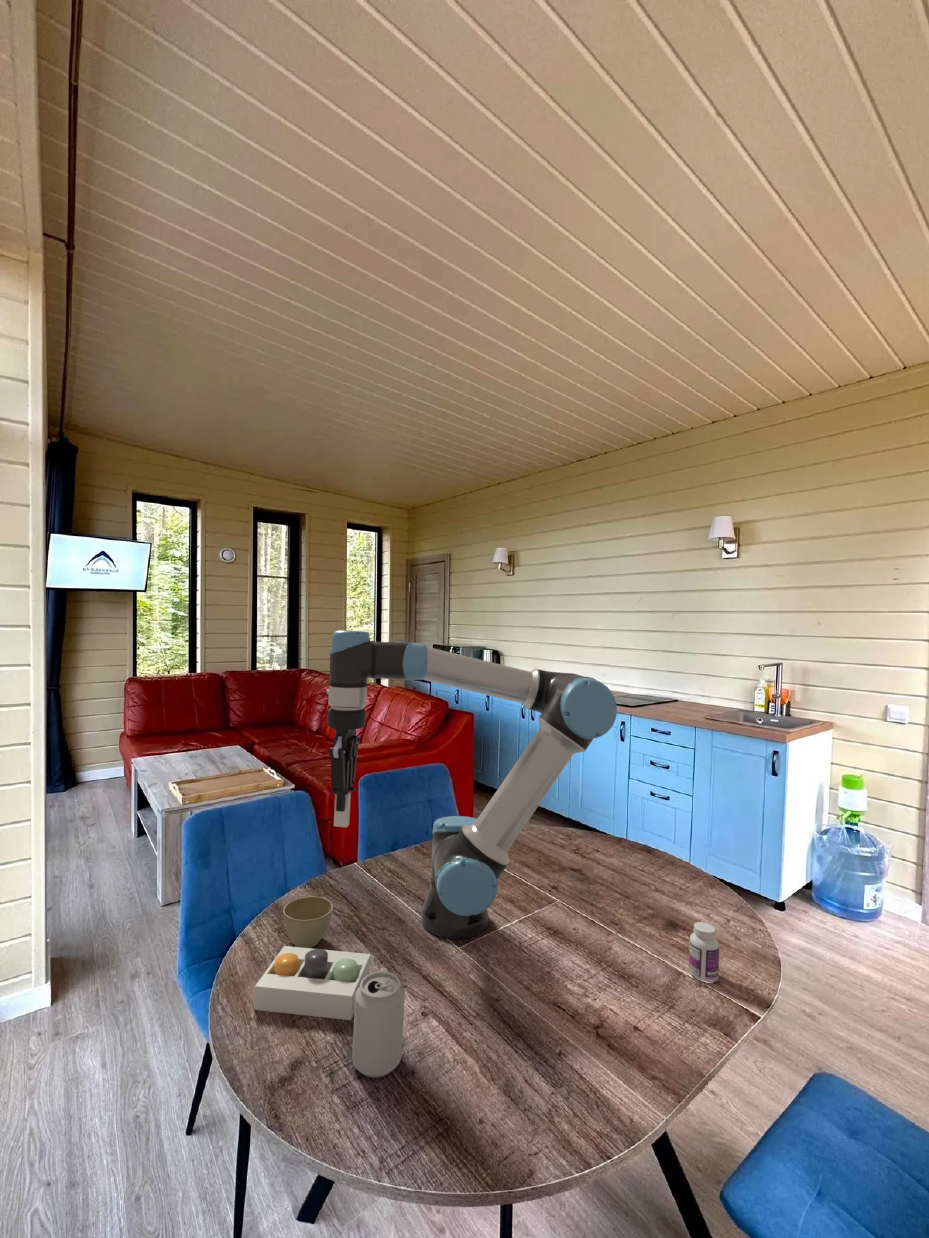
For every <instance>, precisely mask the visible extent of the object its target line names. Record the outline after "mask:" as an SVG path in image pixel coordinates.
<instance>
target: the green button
mask: <svg viewBox="0 0 929 1238" xmlns="http://www.w3.org/2000/svg"><path fill="white" fill-rule="evenodd" d="M356 978H357V963H356V961H354V960H352V959H342V960H339V961H338V962H336V964H335V966H334V981H344V982H354V983H355V982H356Z"/></svg>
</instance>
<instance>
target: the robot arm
mask: <svg viewBox="0 0 929 1238" xmlns="http://www.w3.org/2000/svg"><path fill="white" fill-rule="evenodd" d="M330 644H331V645H330V646H331V647H330V652H329V679H328V681H329V683H328V686H329V687H328V689H327V690H326V692H325V693H326V694H327V695H328V703H327V704H328V706H330V707H329V708H328V709H327V719H326V725H327V727H328V728H330V729H334V731H335V734H334V737H333V740H332V746H333V747H329V751H328V754H329V759H330V783H331V791H330V795H334V814H333V827H337V828H338V827H340V828H348V827H349V825H350V819H351V818H350V816H351V815H350V814H351V813H350V812H351V798H352V797H351V793H352V792H355V791H356V787H354V785H355V783H356V781H355V778H356V771H357V770H356V768H357V762H358V760H357V759H358V752H359V746H360V741H361V736H358V735H357V730H359V729H363V728H364V727H365V726H366V717H367V710H366V709H365V708H364V707H366V706H367V703H368V702H367V701H368V698H367V695H368V679H373V680H374V679H385V680H404V681H405V680H406V681H407V682H408V681H413V680H414V681H417V680H418V681H423V680H424V681H427V682H431V683H436V684H440V685H442V686H443V685H444V686H447V687H452V688H457V689H461V690H463V691H468V692H474V693H477V694H482V695H486V696H490V697H493V698H497V699H498V698H499V699H502V700H507V701H510V702H514V703H518V704H519V703H520V704H522V705H523V706H524V707H525V710H529V711H534V712H537V713H540V715H539V716H538V718H537V721H538V726H539V729H538V731H537V732H536V733H535V735H534V736H533V738H532V739H531V741H530V742H529V743H528V745H527V746H526V748H525V750H524V751H523V752H522V754H521V755H520V756H519V758H518V760H517V761H516V762H515V763H514V765H513V767H512V768H511V770H510V771H509V772H508V773H507V775H506V777H505V778H504V780H503V781H502V783H501V784H500V786H499V787H498V789H497V790H496V791H495V793H493V796H492V797H491V799H490V800H488V801H489V802H488V803H487V805H486V806H485V808H484V809H483V810H482V812H481V813H480V815H478V817H477V818H476V817H471V816H462V815H451V816H442V817H439V818H437V819H436V820H435V821H434V823H433V827H432V831H431V834H432V844H431V845H432V846H431V847H432V848H431V870H430V886H429V889H428V891H427V894H426V896H425V900H424V902H423V905H422V907H421V918H420V919H421V924H422V926H423V928H424V929H426V931H427V932H429V933H431V934H432V935H434V936H437V937H439V938H445V939H454V940H458V939H459V940H460V939H462V940H463V939H469V938H472V937H476V936H478V935H479V934H481V933H482V932H484V931H485V930H486V928H487V926H488V920H489V919H488V918H489V917H488V916H489V914H488V909H489V907H491V905H492V904H493V903H494V902H495V899H496V896H497V893H498V889H499V888H498V885H499V883H498V880H499V879H500V877H501V876H502V874H503V872H504V871H505V870H506V868H507V867H508V865H509V862H510V861H509V860H510V859H509V852H508V851H509V850H510V848H511V847H512V846H513V844H514V842H515V841H516V839H517V838H518V836H519V835H520V834H521V833H522V831H523V829H524V828H525V826H526V825H527V823H528V822H529V820H530V819H531V817H532V816H533V814H534V813H535V812H536V811H537V808H538V807H539V806H540V804H541V803H542V801H543V800H544V798H546V795H547V794H548V792H550V789H551V788H552V787H553V785H554V783H555V782H556V781H557V779H558V778H559V776H560V775H561V774H562V772H563V770H564V769H565V768H566V766H567V764H569V761H570V760H571V759H572V757H573V756H574V755H575V754H579V753H584V752H586V750H587V749H588V748H589V747H590V745H591V743H592V742H593V740H594V739H598V738H601V737H603V736H604V735H607V734H608V732H609V731H610V730H611V729H612V728H613V726H614V724H615V722H616V719H617V715H618V714H617V713H618V705H617V701H616V698H615V695H614V694H613V692H612V691H611V689H610V688H609V687H608V686H607V685H606V684H604V683H603V682H601V681H599V680H598V679H596V678H594V677H590V676H584V675H580V674H577V673H571V672H557V671H549V670H544V669H539V668H533V669H532V670H531V671H529V670H525V669H520V668H516V667H513V666H508V665H504V664H500V663H496V662H491V661H487V660H483V659H479V658H475V657H470V656H467V655H466V656H465V655H463V654H459V653H458V654H457V653H454V652H450V651H446V650H442V649H438V648H433V647H429V646H427V645H426V644H425V643H417V642H414V641H413V642H410V641H406V640H403V639H398V640H392V641H390V642H389V641H374V640H371V637H370V633H369V632H368V631H364V630H343V629H342V630H341V629H340V630H339V629H338V630H336V631H334V632H333V633H332V636H331V643H330Z"/></svg>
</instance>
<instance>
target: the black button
mask: <svg viewBox="0 0 929 1238" xmlns="http://www.w3.org/2000/svg"><path fill="white" fill-rule="evenodd" d="M313 949H314V950H311V951H309V952H307V953H306V955H305V967H304V977H305V978H314V979H324V980H325V978H326V976H327V961H328V953H327V951H325V950H326V949H322V948H313Z"/></svg>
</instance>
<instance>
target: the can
mask: <svg viewBox="0 0 929 1238" xmlns="http://www.w3.org/2000/svg"><path fill="white" fill-rule="evenodd" d="M404 989H405V988H404V987H403V986H402V981H401V979H400V978H399V977H398V976H397V975H396V974H394V973H393V972H389V971H374V972H371V973H369V975H367V976H366V977H364V978H363V980H362V981H361V983H360V987H359V988H358V989H357V991H356V994H355V1012H354V1014H353V1017H354V1018H353V1033H352V1034H353V1036H352V1037H353V1039H352V1054H351V1055H352V1058H351V1059H352V1064H353V1066H354V1068H355V1069H356V1070H357V1071H358V1072H359V1073H361V1074H362V1075H363V1076H366V1077H368V1078H374V1079H375V1078H382V1077H384V1076H387V1075H389V1074H390V1073H391V1072H392V1071H393V1070H394V1069H396V1068H397V1067H398V1065H399V1064H400V1063H401V1060H402V1057H403V1056H402V1055H403V1037H404V1036H403V1035H404V1016H405V996H406V995H405V990H404Z"/></svg>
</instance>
